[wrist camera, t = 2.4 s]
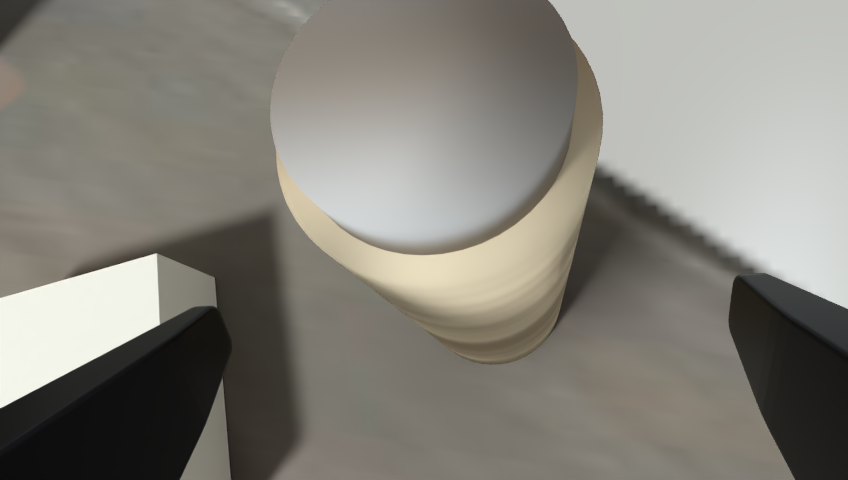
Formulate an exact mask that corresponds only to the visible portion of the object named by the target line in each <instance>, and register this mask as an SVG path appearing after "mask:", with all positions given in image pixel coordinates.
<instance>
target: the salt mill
mask: <svg viewBox="0 0 848 480" xmlns="http://www.w3.org/2000/svg"><path fill="white" fill-rule="evenodd" d="M270 115H271V129H272V134H273V139H274V144H275V147H276V157H277V170H278V175H279V180H280V185H281V189H282V191H283V194H284V197H285V200H286V202H287V205H288V207H289V208H290V210H291V212H292V214H293V216H294V218H295V220H296V221H297V222H298V224H299V225H300V226H301V228H302V229H303V230H304V232H305V233H306V234H307V236H308V237H309V238H310V239H311V240H312V241H313V242H314V243H315V244H316V245H318V246H319V247H320V248H321V249H322V250H323V251H324V252H325V253H327V254H328V255H329V256H331V257H332V258H333V259H334V260H336V261H337V262H338V263H340V264H341V265H342V266H343V267H345V268H346V269H347V270H349V271H350V272H351V273H352V274H354V275H355V276H356V277H358V278H359V279H360V280H361V281H363V282H364V283H365V284H367V285H368V286H369V287H370V288H372V289H373V290H374V291H376V292H377V293H378V294H379V295H381V296H382V297H383V298H385V299H386V300H387V301H388V302H390V303H391V304H392V305H394V306H395V307H396V308H397V309H399V310H400V311H401V312H403V313H404V314H405V315H406V316H408V317H409V318H410V319H412V320H413V321H414V322H415V323H417V324H418V325H419V326H421V327H422V328H423V329H424V330H426V331H427V332H428V333H430V334H431V335H432V336H433V337H435V338H436V339H437V340H439V341H440V342H441V343H442V344H444V345H445V346H446V347H448V348H449V349H450V350H452V351H453V352H454V353H456V354H457V355H459V356H461V357H463V358H465V359H468V360H470V361H473V362H477V363H482V364H503V363H509V362H512V361H516V360H518V359H521V358H523V357H525V356H527V355H528V354H530V353H531V352H533V351H534V350H536V349H537V348H538V347H539V346H540V345H541V344H542V343H543V342H544V341H545V340H546V339H547V337H548V336H549V334H550V333H551V331H552V330H553V328H554V326H555V324H556V321H557V318H558V315H559V311H560V307H561V303H562V299H563V295H564V291H565V287H566V283H567V279H568V275H569V271H570V268H571V264H572V260H573V256H574V252H575V248H576V244H577V240H578V236H579V232H580V228H581V224H582V220H583V216H584V212H585V208H586V204H587V200H588V196H589V192H590V188H591V184H592V180H593V176H594V172H595V168H596V164H597V160H598V156H599V151H600V145H601V139H602V125H603V112H602V105H601V98H600V92H599V89H598V86H597V82H596V79H595V76H594V73H593V71H592V69H591V67H590V65H589V63H588V61H587V59H586V57H585V56H584V54H583V53H582V51H581V50H580V48H579V47H578V45H577V44H576V42H575V41H574V40H573V39H572V38H571V36H570V34H569V32H568V30H567V28H566V25H565V23H564V21H563V20H562V18H561V17H560V15H559V14H558V12H557V11H556V9H555V8H554V7H553V5H551V3H550V2H549V1H548V0H328V1H327V2H326V3H324V4H323V5H322V6H321V7H320V8H319V9H318V10H317V11H316V12H315V13H314V14H313V15H312V16H311V17H310V18H309V19H308V21H307V22H306V23H305V24H304V25H303V27H302V28H301V29H300V30H299V31H298V33H297V35H296V36H295V38H294V39H293V41H292V42H291V44H290V45H289V47H288V49H287V51H286V53H285V55H284V57H283V59H282V61H281V63H280V66H279V69H278V72H277V74H276V77H275V82H274V86H273V90H272V96H271V108H270Z"/></svg>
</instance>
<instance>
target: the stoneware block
mask: <svg viewBox="0 0 848 480" xmlns="http://www.w3.org/2000/svg"><path fill="white" fill-rule="evenodd" d="M196 306H215V307H217V300H216V287H215V277H212V276H210V275H207V274H205V273H203V272H200V271H198V270H195V269H193V268H191V267H188V266H186V265H183V264H181V263H179V262H176V261H174V260H172V259H169V258H167V257H164V256H162V255H160V254H157V253H156V254H153V255H149V256H146V257H142V258H139V259H135V260H132V261H128V262H125V263H121V264H118V265H114V266H111V267H107V268H104V269H100V270H97V271H93V272H90V273H86V274H83V275H79V276H76V277H73V278H69V279H66V280H62V281H59V282H55V283H52V284H48V285H45V286H41V287H38V288H34V289H31V290H27V291H24V292H20V293H17V294H13V295H10V296H6V297H3V298H0V408H2V407H4V406H6V405H8V404H9V403H11V402H13V401H15V400H17V399H19V398H21V397H23V396H25V395H27V394H28V393H30V392H32V391H34V390H36V389H38V388H40V387H42V386H44V385H46V384H48V383H49V382H51V381H53V380H55V379H57V378H59V377H61V376H63V375H65V374H67V373H68V372H70V371H72V370H74V369H76V368H78V367H80V366H82V365H84V364H86V363H87V362H89V361H91V360H93V359H95V358H97V357H99V356H101V355H103V354H105V353H107V352H108V351H110V350H112V349H114V348H116V347H118V346H120V345H122V344H124V343H126V342H127V341H129V340H131V339H133V338H135V337H137V336H139V335H141V334H143V333H145V332H147V331H148V330H150V329H152V328H154V327H156V326H158V325H160V324H162V323H164V322H166V321H167V320H169V319H171V318H173V317H175V316H177V315H179V314H181V313H183V312H185V311H186V310H188V309H190V308H192V307H196ZM180 480H231V475H230V463H229V450H228V438H227V425H226V413H225V400H224V388H223V378H222V381H221V384H220V387H219V389H218V392H217V395H216V398H215V401H214V404H213V406H212V409H211V412H210V415H209V417H208V420H207V422H206V425H205V427H204V429H203V432H202V434H201V436H200V438H199V440H198V443H197V445H196V447H195V449H194V451H193V453H192V455H191V457H190V460H189V462H188V464H187V466H186V468H185V470H184V472H183V474H182V477H181V479H180Z"/></svg>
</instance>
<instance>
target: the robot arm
mask: <svg viewBox="0 0 848 480" xmlns="http://www.w3.org/2000/svg"><path fill="white" fill-rule="evenodd" d="M729 329H730V332H731V335H732V338H733V341H734V343H735V346H736V349H737V351H738V354H739V357H740V359H741V362H742V365H743V367H744V370H745V373H746V375H747V378H748V381H749V383H750V386H751V389H752V391H753V394H754V397H755V399H756V402H757V404H758V407H759V409H760V412H761V414H762V416H763V418H764V420H765V422H766V424H767V427H768V429H769V431H770V432H771V434H772V436H773V438H774V440H775V442H776V444H777V446H778V448H779V450H780V452H781V454H782V455H783V457H784V459H785V461H786V463H787V465H788V467H789V469H790V471H791V473H792V475H793V476H794V478H795V480H848V309H846V308H844V307H842V306H839V305H837V304H835V303H832V302H830V301H828V300H826V299H823V298H821V297H819V296H817V295H814V294H812V293H810V292H807V291H805V290H803V289H801V288H798V287H796V286H794V285H791V284H789V283H787V282H784V281H782V280H780V279H778V278H775V277H773V276H771V275H768V274H765V273H756V274H741V275H738V276H737V277H736V278H735V280H734V282H733V287H732V295H731V302H730V310H729ZM231 351H232V342H231V338H230V336H229V333H228V330H227V328H226V325H225V323H224V320H223V318H222V315H221V313H220V311H219V309H218V308H217V307H215V306H196V307H192V308H190V309H188V310H186V311H185V312H183V313H181V314H179V315H177V316H175V317H173V318H171V319H169V320H167V321H166V322H164V323H162V324H160V325H158V326H156V327H154V328H152V329H150V330H148V331H147V332H145V333H143V334H141V335H139V336H137V337H135V338H133V339H131V340H129V341H127V342H126V343H124V344H122V345H120V346H118V347H116V348H114V349H112V350H110V351H108V352H107V353H105V354H103V355H101V356H99V357H97V358H95V359H93V360H91V361H89V362H87V363H86V364H84V365H82V366H80V367H78V368H76V369H74V370H72V371H70V372H68V373H67V374H65V375H63V376H61V377H59V378H57V379H55V380H53V381H51V382H49V383H48V384H46V385H44V386H42V387H40V388H38V389H36V390H34V391H32V392H30V393H28V394H27V395H25V396H23V397H21V398H19V399H17V400H15V401H13V402H11V403H9V404H8V405H6V406H4V407H2V408H0V480H180V479H181V477H182V474H183V472H184V470H185V468H186V466H187V464H188V462H189V460H190V457H191V455H192V453H193V451H194V449H195V447H196V445H197V443H198V440H199V438H200V436H201V434H202V432H203V429H204V427H205V425H206V422H207V420H208V417H209V415H210V412H211V409H212V406H213V404H214V401H215V398H216V395H217V392H218V389H219V387H220V384H221V381H222V378H223V375H224V372H225V369H226V367H227V364H228V361H229V358H230V355H231Z"/></svg>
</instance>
